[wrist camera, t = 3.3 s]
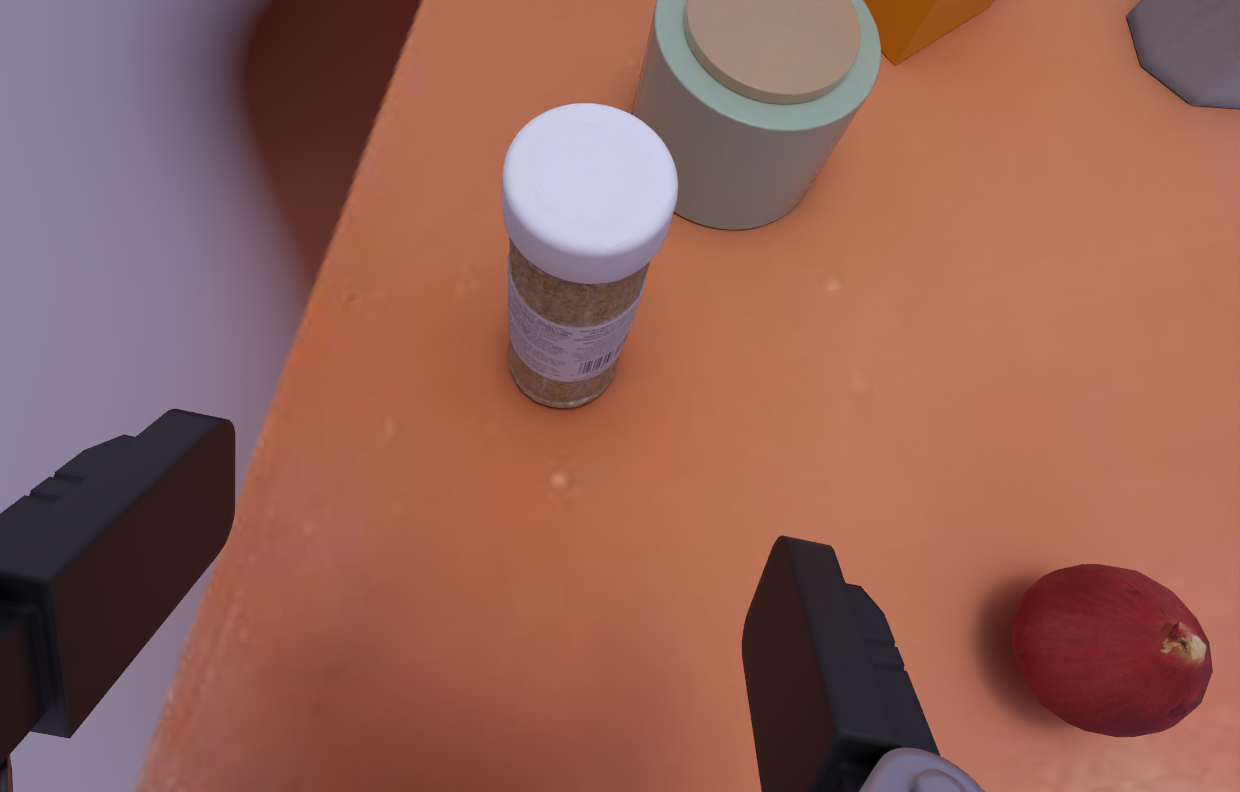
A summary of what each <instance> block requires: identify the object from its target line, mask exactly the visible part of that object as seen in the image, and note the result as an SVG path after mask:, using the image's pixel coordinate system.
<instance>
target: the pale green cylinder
mask: <svg viewBox="0 0 1240 792" xmlns="http://www.w3.org/2000/svg"><path fill="white" fill-rule="evenodd" d="M880 61H881V46H880V38H879V34H878V30H877V26H876V24H875V22H874V19H873V17H872V14H871V13H870V11H869V9H868V7H867V6H866V4H865V2H864V1H863V0H657V2H656V6H655V11H654V15H653V20H652V24H651V29H650V33H649V38H648V42H647V47H646V51H645V56H644V60H643V65H642V70H641V74H640V79H639V83H638V88H637V92H636V97H635V101H634V106H633V110H632V115H633V116H635V117H637V118H638V119H640V120H641V121H643V122H644V123H645V124H647V125H648V126H649V127H650V128H651V129H652V130H653V131H655V133H656V134H657V135H658V136H659V137H660V138H661V140H662V141H663V142H664V144H665V145H666V147H667V149H668V150H669V152H670V154H671V156H672V159H673V161H674V164H675V167H676V171H677V178H678V195H677V201H676V205H675V209H674V212H675V213H676V214H678V215H680V216H681V217H684V218H686V219H688V220H690V221H692V222H695V223H698V224H701V225H704V226H708V227H713V228H717V229H728V230H740V229H749V228H755V227H759V226H762V225H766V224H768V223H771V222H773V221H775V220H778V219H779V218H781V217H782V216H784V215H786V214H787V213H788V212H790V211H791V210H792V209H793V208H794V207H795V206H796V205H797V204H798V203H799V202H800V201H801V199H802V198H803V197H804V195H805V194H806V192H807V190H808V189H809V187H810V186H811V184H812V183H813V181H814V179H815V178H816V176H817V175H818V173H819V172H820V170H821V168H822V167H823V165H824V164H825V162H826V161H827V159H828V157H829V156H830V154H831V153H832V151H833V150H834V148H835V146H836V145H837V143H838V142H839V140H840V139H841V137H842V135H843V134H844V132H845V131H846V129H847V128H848V126H849V124H850V123H851V121H852V120H853V118H854V117H855V115H856V113H857V112H858V110H859V109H860V107H861V106H862V104H863V102H864V101H865V99H866V98H867V96H868V95H869V93H870V91H871V90H872V88H873V86H874V84H875V81H876V79H877V76H878V72H879V68H880Z"/></svg>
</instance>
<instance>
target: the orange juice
mask: <svg viewBox="0 0 1240 792" xmlns="http://www.w3.org/2000/svg"><path fill="white" fill-rule="evenodd" d="M863 1H864V2H865V4H866V6H867V7H868V9H869V11H870V13H871V14H872V17H873V19H874V22H875V24H876V26H877V30H878V34H879V38H880V46H881V51H882V53H883V54H884V55H885V56H886V57H887V58H888V59H889V60H890V61H891V62H892V63H893V64H894V65H896V64H898V63H900V62H901V61H903V60H904V59H906V58H908V57H909V56H911V55H912V54H914V53H916V52H917V51H919V50H920V49H922V48H924V47H925V46H927V45H928V44H930V43H932V42H933V41H935V40H937V39H938V38H940V37H941V36H943V35H945V34H946V33H948V32H949V31H951V30H953V29H954V28H956V27H957V26H959V25H961V24H962V23H964V22H965V21H967V20H969V19H970V18H972V17H973V16H975V15H977V14H978V13H980V12H981V11H983V10H985V9H986V8H988V7H989V6H990V5H991V4H992V3H993V1H994V0H863Z"/></svg>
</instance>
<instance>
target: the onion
mask: <svg viewBox="0 0 1240 792" xmlns="http://www.w3.org/2000/svg"><path fill="white" fill-rule="evenodd" d="M1012 648H1013V651H1014V655H1015V658H1016V662H1017V665H1018V669H1019V671H1020V673H1021V674H1022V676H1023V677H1024V679H1025V681H1026V682H1027V684H1028V685H1029V687H1030V688H1031V690H1032V691H1033V693H1034V694H1035V696H1036V697H1037V699H1038V700H1039V702H1040V703H1041V705H1043V706H1044V707H1045V708H1047V709H1048V710H1050V711H1051V712H1053V713H1054V714H1056V715H1057V716H1058V717H1060V718H1061V719H1063V720H1064V721H1066V722H1067V723H1069V724H1071V725H1073V726H1075V727H1078V728H1080V729H1082V730H1085V731H1088V732H1093V733H1098V734H1103V735H1109V736H1114V737H1136V736H1141V735H1146V734H1152V733H1157V732H1162V731H1164V730H1167V729H1169V728H1171V727H1173V726H1175V725H1176V724H1177V723H1178V722H1180V721H1181V720H1182V719H1183V718H1184V717H1186V716H1187V715H1188V714H1189V713H1191V712H1192V711H1193V710H1194V709H1195V708H1196V707H1197V706H1198V705H1199V704H1200V703H1201V702H1202V699H1203V697H1204V694H1205V691H1206V689H1207V686H1208V683H1209V680H1210V677H1211V674H1212V672H1213V669H1212V661H1211V654H1210V646H1209V641H1208V639H1207V637H1206V635H1205V633H1204V631H1203V630H1202V628H1201V626H1200V624H1199V622H1198V620H1197V618H1196V617H1195V616H1194V615H1193V614H1192V613H1191V611H1190V610H1189V609H1188V608H1187V607H1186V606H1185V605H1184V604H1183V602H1182V601H1181V600H1180V599H1179V598H1178V597H1177V596H1176V595H1175V594H1174V593H1173V592H1172V591H1171V590H1169V589H1168V588H1166V587H1164V586H1163V585H1161V584H1159V583H1157V582H1156V581H1154V580H1152V579H1151V578H1149V577H1147V576H1145V575H1143V574H1141V573H1139V572H1137V571H1134V570H1129V569H1123V568H1118V567H1112V566H1105V565H1099V564H1082V565H1077V566H1073V567H1068V568H1064V569H1059V570H1056V571H1054V572H1051V573H1049V574H1047V575H1044V576H1043V577H1042V578H1041V579H1040V580H1038V581H1037V582H1036V583H1035V584H1034V585H1032V586H1031V587H1030V588H1029V589H1028V590H1027V591H1026V592H1025V593H1024V595H1023V597H1022V599H1021V601H1020V603H1019V605H1018V607H1017V610H1016V612H1015V614H1014V616H1013V618H1012Z"/></svg>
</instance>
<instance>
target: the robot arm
mask: <svg viewBox="0 0 1240 792" xmlns="http://www.w3.org/2000/svg"><path fill="white" fill-rule="evenodd" d="M234 514H235V430H234V426H233V424H232V422H231V421H230V420H227V419H222V418H217V417H213V416H208V415H203V414H198V413H194V412H188V411H184V410H179V409H172V410H169V411H167V412H166V413H165V414H163V415H162V416H161V417H160V418H159V419H158V420H156V421H155V422H154V423H152V424H151V425H150V426H149V427H147V428H146V429H145V430H144V431H143V432H141V433H140V434H139V435H138V436H136V437H133V436H128V435H122V436H119V437H117V438H114V439H112V440H109V441H107V442H104V443H101V444H99V445H96V446H94V447H91V448H88V449H86V450H84V451H82V452H81V453H80V454H78V455H77V456H76V457H74V458H73V459H72V460H70V461H69V462H68V463H66V464H65V465H64V466H63V467H61V468H60V469H59V470H57V471H56V472H55V475H54V477H48V478H47V479H46V480H44V481H43V482H42V483H40V484H39V485H38V486H36V487H35V488H34V489H32V490H31V493H30V495H29V496H23V497H22V498H20V499H19V500H18V501H17V502H15V503H14V504H13V505H11V506H10V507H9V508H7V509H6V510H5V511H3V512H2V513H1V514H0V792H13V782H12V766H11V760H10V753H11V752H12V751H13V750H14V749H15V748H16V747H17V745H18V744H19V743H20V742H21V741H22V740H23V738H24V737H25V736H26V735H27V734H28V733H29V732H30V731H31V732H37V733H43V734H48V735H54V736H59V737H65V738H71V736H72V735H73V734H74V733H75V731H76V730H77V729H78V727H79V726H80V725H81V724H82V723H83V721H84V720H85V719H86V718H87V717H88V715H89V714H90V713H91V711H92V710H93V709H94V708H95V707H96V705H97V704H98V703H99V702H100V700H101V699H102V698H103V697H104V695H105V694H106V693H107V692H108V690H109V689H110V688H111V687H112V686H113V684H114V683H115V682H116V681H117V679H118V678H119V677H120V676H121V674H122V673H123V672H124V671H125V669H126V668H127V667H128V666H129V665H130V663H131V662H132V661H133V660H134V658H135V657H136V656H137V654H138V653H139V652H140V651H141V650H142V648H143V647H144V646H145V645H146V643H147V642H148V641H149V640H150V638H151V637H152V636H153V635H154V634H155V632H156V631H157V630H158V629H159V627H160V626H161V625H162V624H163V622H164V621H165V620H166V619H167V617H168V616H169V615H170V614H171V612H172V611H173V610H174V609H175V608H176V606H177V605H178V604H179V603H180V601H181V600H182V599H183V598H184V596H185V595H186V594H187V593H188V591H189V590H190V589H191V588H192V586H193V585H194V584H195V583H196V582H197V580H198V579H199V578H200V576H201V575H202V574H203V573H204V571H205V570H206V569H207V568H208V567H209V565H210V564H211V563H212V562H213V560H214V559H215V558H216V557H217V556H218V554H219V553H220V551H221V550H222V548H223V547H224V545H225V543H226V541H227V539H228V536H229V534H230V531H231V528H232V524H233V520H234ZM894 645H895V640H894V637H893V635H892V632H891V630H890V627H889V625H888V622H887V620H886V617H885V615H884V613H883V612H882V610H881V609H880V608H879V607H878V606H877V605H876V603H875V602H874V601H873V600H872V599H871V598H870V596H869V595H868V594H867V593H866V592H865V591H864V589H863V588H862V587H861V586H857V585H852V584H847V583H845V580H844V578H843V575H842V572H841V569H840V566H839V563H838V560H837V557H836V555H835V552H834V550H833V548H832V547H831V546H830V545H826V544H821V543H816V542H811V541H806V540H801V539H797V538H792V537H787V536H780V537H778V538H777V540H776V541H775V543H774V545H773V547H772V550H771V552H770V555H769V558H768V560H767V563H766V565H765V568H764V571H763V573H762V576H761V579H760V581H759V584H758V586H757V589H756V592H755V594H754V597H753V600H752V602H751V605H750V607H749V610H748V613H747V616H746V620H745V624H744V629H743V636H742V659H743V666H744V673H745V680H746V687H747V693H748V700H749V707H750V714H751V721H752V728H753V735H754V741H755V748H756V755H757V762H758V769H759V776H760V783H761V790H762V792H985V791H984V790H983V789H982V788H981V787H980V786H979V785H978V784H977V782H976V781H974V780H973V779H972V778H971V777H970V776H969V775H968V774H967V773H966V772H964V771H963V770H962V769H960V768H959V767H958V766H956V765H955V764H953V763H951V762H950V761H948V760H947V759H945V758H942V757H941V756H940V754H939V751H938V749H937V746H936V744H935V741H934V739H933V736H932V734H931V731H930V728H929V726H928V723H927V721H926V718H925V716H924V713H923V711H922V708H921V706H920V703H919V701H918V698H917V696H916V693H915V691H914V688H913V685H912V683H911V680H910V678H909V675H908V673H907V671H904V663H903V660H902V658H901V655H900V653H899V650H898V648H897V647H895V646H894Z"/></svg>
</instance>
